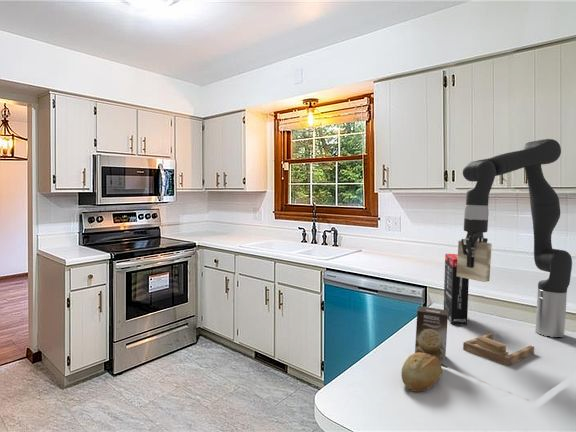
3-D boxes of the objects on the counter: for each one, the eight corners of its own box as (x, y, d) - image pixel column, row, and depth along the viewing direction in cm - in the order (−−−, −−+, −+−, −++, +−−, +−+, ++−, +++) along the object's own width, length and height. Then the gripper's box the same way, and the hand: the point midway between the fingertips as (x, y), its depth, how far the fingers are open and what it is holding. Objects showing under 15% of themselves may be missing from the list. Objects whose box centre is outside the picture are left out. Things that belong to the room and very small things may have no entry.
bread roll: (447, 378, 106) (448, 351, 106) (431, 400, 95) (433, 369, 94) (413, 368, 112) (414, 342, 112) (394, 387, 100) (396, 358, 100)
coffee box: (413, 360, 117) (415, 310, 117) (415, 353, 123) (418, 305, 123) (445, 367, 114) (447, 315, 113) (446, 359, 119) (448, 309, 119)
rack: (489, 342, 135) (490, 333, 134) (533, 357, 123) (534, 346, 123) (462, 352, 125) (463, 342, 125) (508, 369, 113) (508, 358, 113)
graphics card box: (468, 326, 152) (471, 259, 151) (450, 324, 153) (453, 258, 152) (457, 314, 169) (460, 254, 167) (441, 312, 170) (444, 253, 169)
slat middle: (480, 348, 125) (480, 342, 125) (508, 357, 118) (508, 351, 118) (473, 350, 123) (473, 344, 123) (502, 360, 116) (502, 354, 116)
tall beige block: (461, 275, 137) (463, 240, 137) (489, 280, 129) (491, 243, 128) (456, 276, 135) (458, 240, 135) (484, 281, 127) (486, 243, 126)
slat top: (483, 342, 125) (483, 336, 125) (505, 351, 118) (506, 345, 118) (476, 343, 124) (476, 337, 124) (498, 353, 117) (498, 346, 117)
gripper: (476, 217, 138) (473, 263, 139) (454, 217, 130) (452, 266, 131) (496, 219, 132) (493, 267, 133) (476, 218, 124) (473, 270, 125)
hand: (473, 266), depth 132 cm, fingers closed on tall beige block, 3 cm apart
